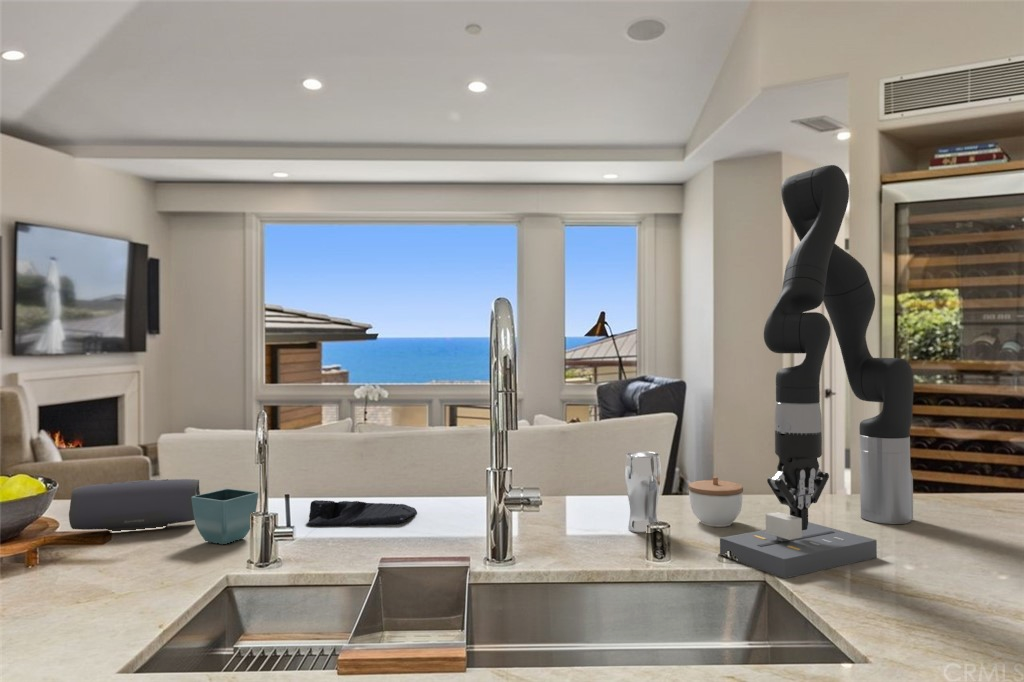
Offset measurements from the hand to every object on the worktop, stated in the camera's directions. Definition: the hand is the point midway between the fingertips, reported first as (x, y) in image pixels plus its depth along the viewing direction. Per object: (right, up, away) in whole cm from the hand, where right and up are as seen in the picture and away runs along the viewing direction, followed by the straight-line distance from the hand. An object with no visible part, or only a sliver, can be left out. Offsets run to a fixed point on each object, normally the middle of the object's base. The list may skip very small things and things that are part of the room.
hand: (799, 529), depth 123 cm
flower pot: (-104, -6, +14) cm, 105 cm away
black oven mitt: (-81, -6, +31) cm, 87 cm away
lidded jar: (-8, -5, +23) cm, 25 cm away
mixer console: (0, -5, 0) cm, 5 cm away
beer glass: (-23, -5, +18) cm, 30 cm away
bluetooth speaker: (-126, -6, +23) cm, 128 cm away
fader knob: (-3, -1, -2) cm, 4 cm away
